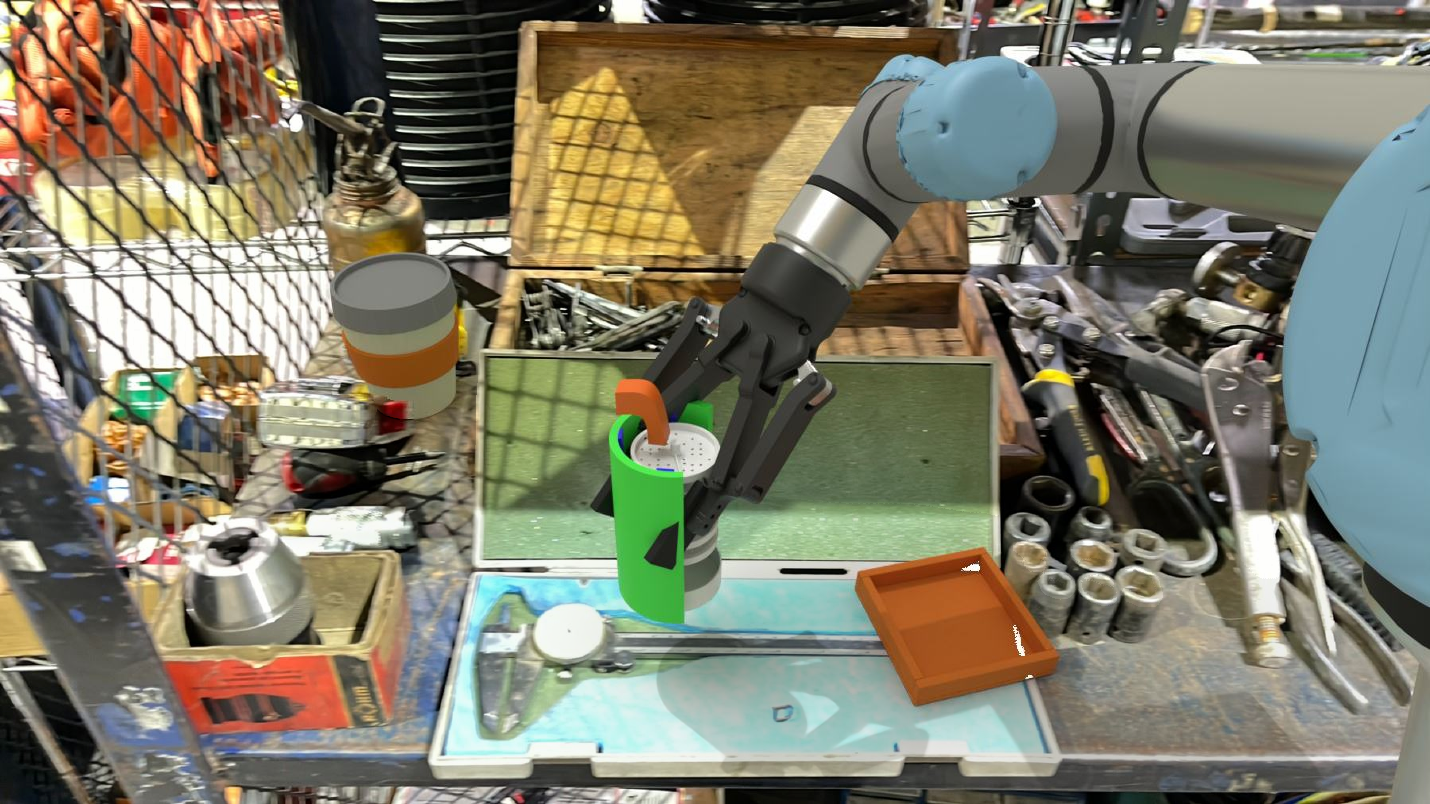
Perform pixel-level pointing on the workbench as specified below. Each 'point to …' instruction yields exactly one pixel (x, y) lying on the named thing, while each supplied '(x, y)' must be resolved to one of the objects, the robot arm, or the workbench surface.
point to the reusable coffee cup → (400, 327)
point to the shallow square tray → (953, 625)
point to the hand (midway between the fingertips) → (630, 537)
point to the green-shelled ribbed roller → (661, 501)
